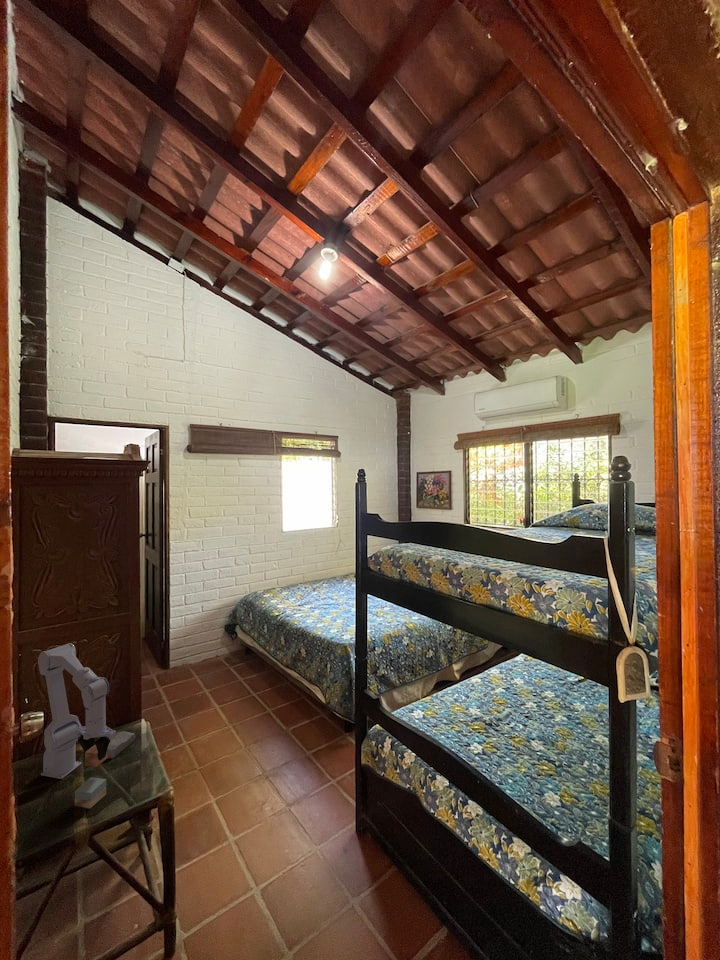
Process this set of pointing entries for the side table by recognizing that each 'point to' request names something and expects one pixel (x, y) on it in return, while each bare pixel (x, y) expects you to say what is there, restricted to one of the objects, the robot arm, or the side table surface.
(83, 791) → the top block
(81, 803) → the brown block
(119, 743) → the stone block
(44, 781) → the side table surface
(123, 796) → the side table surface
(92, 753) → the terracotta cube
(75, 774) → the side table surface
